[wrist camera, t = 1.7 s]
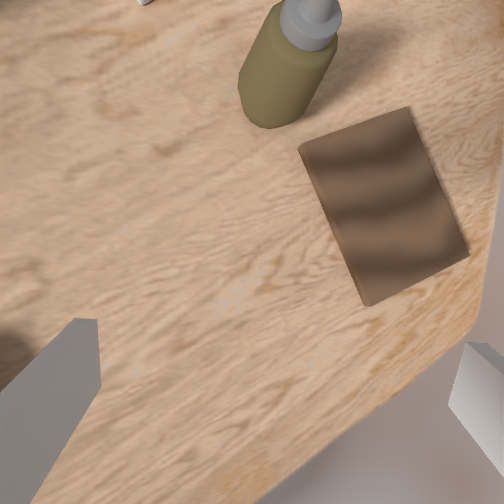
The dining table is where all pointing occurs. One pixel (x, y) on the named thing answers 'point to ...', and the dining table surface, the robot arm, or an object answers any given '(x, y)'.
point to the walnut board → (383, 204)
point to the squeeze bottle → (288, 60)
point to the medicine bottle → (143, 2)
